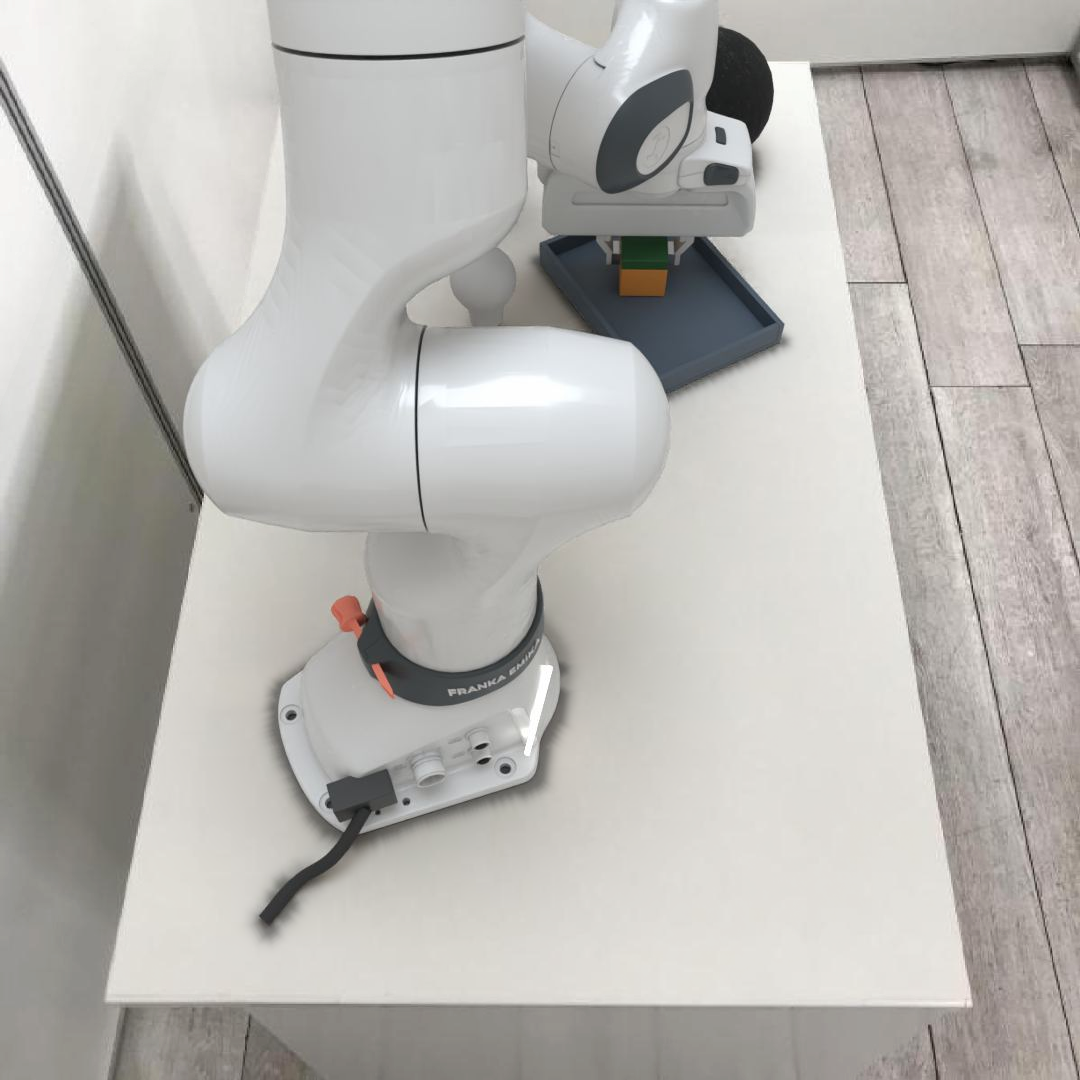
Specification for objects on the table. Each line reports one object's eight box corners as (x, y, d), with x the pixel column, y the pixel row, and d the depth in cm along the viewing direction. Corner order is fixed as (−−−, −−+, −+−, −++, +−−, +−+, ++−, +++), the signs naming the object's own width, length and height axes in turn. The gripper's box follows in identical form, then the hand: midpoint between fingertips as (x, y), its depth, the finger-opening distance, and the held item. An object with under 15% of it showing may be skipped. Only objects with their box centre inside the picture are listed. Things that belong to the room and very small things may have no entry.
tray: (647, 402, 100) (649, 384, 98) (539, 261, 110) (539, 242, 108) (780, 342, 104) (784, 323, 102) (664, 211, 114) (666, 191, 112)
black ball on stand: (633, 127, 121) (643, 2, 108) (749, 122, 121) (772, -4, 108) (646, 208, 114) (658, 84, 101) (769, 201, 114) (796, 77, 101)
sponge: (664, 296, 106) (668, 261, 102) (619, 296, 107) (621, 260, 102) (662, 246, 110) (666, 210, 106) (618, 245, 110) (621, 209, 106)
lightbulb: (517, 361, 103) (514, 278, 94) (454, 361, 103) (445, 278, 94) (519, 314, 106) (516, 230, 97) (458, 314, 107) (449, 229, 97)
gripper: (535, 169, 94) (538, 282, 105) (769, 170, 93) (745, 284, 105) (537, 122, 97) (539, 237, 109) (763, 123, 96) (741, 239, 108)
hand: (642, 260), depth 107 cm, fingers closed on sponge, 4 cm apart
